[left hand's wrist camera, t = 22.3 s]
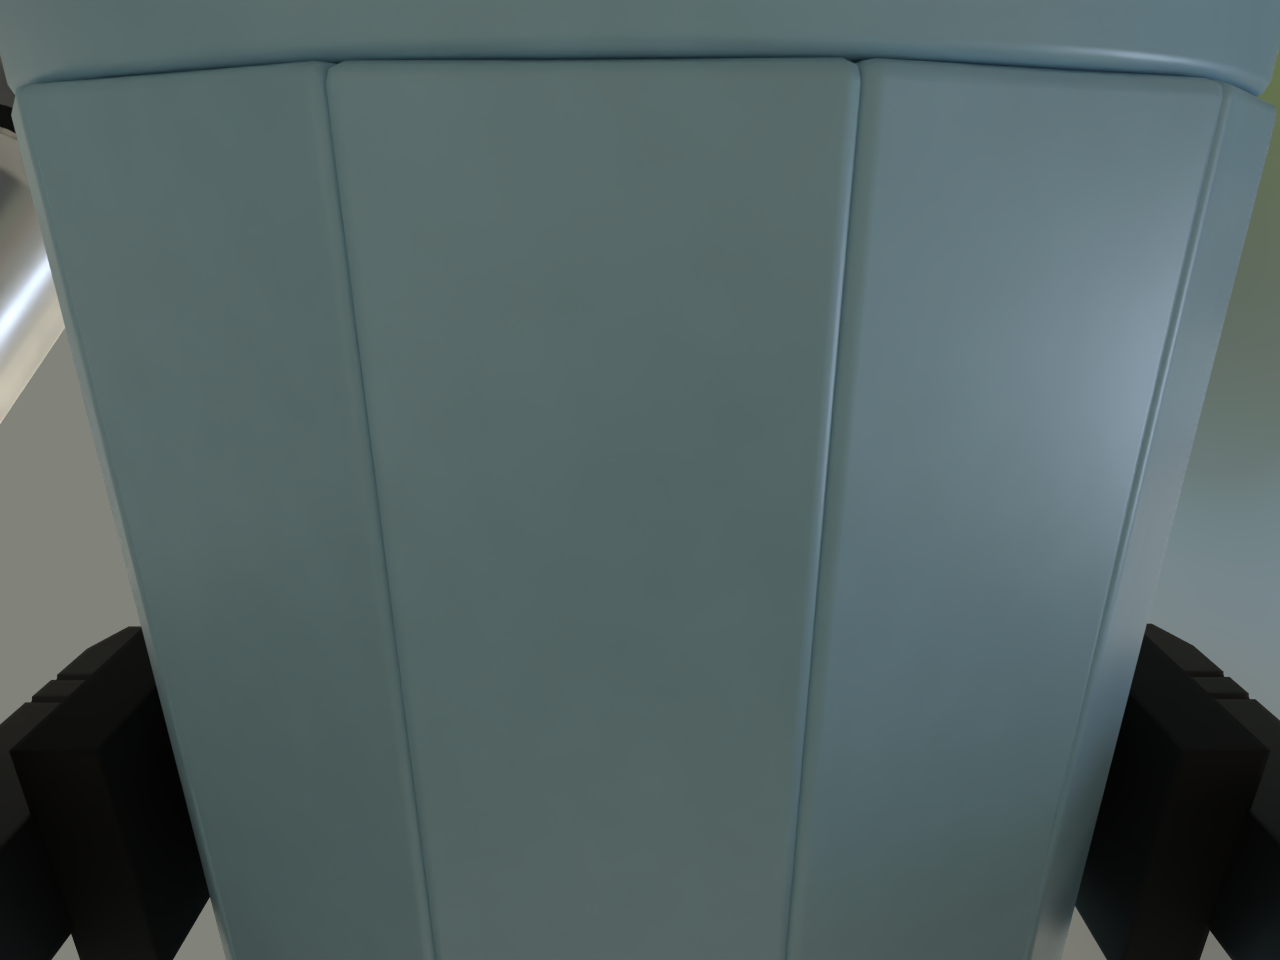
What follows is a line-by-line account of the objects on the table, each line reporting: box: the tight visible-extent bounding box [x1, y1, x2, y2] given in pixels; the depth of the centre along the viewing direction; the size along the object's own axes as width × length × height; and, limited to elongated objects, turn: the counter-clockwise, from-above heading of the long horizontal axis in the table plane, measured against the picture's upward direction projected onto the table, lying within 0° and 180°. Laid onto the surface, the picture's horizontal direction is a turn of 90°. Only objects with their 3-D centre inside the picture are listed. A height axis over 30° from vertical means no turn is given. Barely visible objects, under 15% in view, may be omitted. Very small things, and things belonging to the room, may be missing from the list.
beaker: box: [0, 0, 1280, 960], centre depth 9 cm, size 9×9×12 cm
